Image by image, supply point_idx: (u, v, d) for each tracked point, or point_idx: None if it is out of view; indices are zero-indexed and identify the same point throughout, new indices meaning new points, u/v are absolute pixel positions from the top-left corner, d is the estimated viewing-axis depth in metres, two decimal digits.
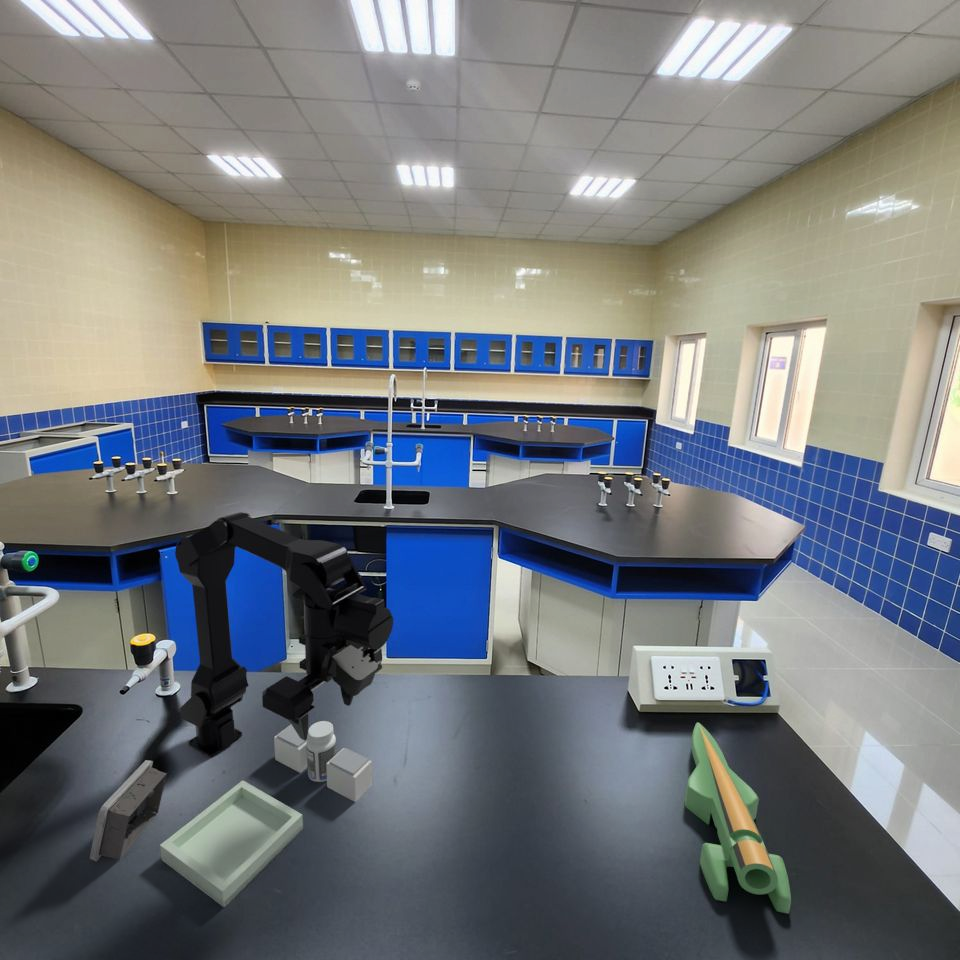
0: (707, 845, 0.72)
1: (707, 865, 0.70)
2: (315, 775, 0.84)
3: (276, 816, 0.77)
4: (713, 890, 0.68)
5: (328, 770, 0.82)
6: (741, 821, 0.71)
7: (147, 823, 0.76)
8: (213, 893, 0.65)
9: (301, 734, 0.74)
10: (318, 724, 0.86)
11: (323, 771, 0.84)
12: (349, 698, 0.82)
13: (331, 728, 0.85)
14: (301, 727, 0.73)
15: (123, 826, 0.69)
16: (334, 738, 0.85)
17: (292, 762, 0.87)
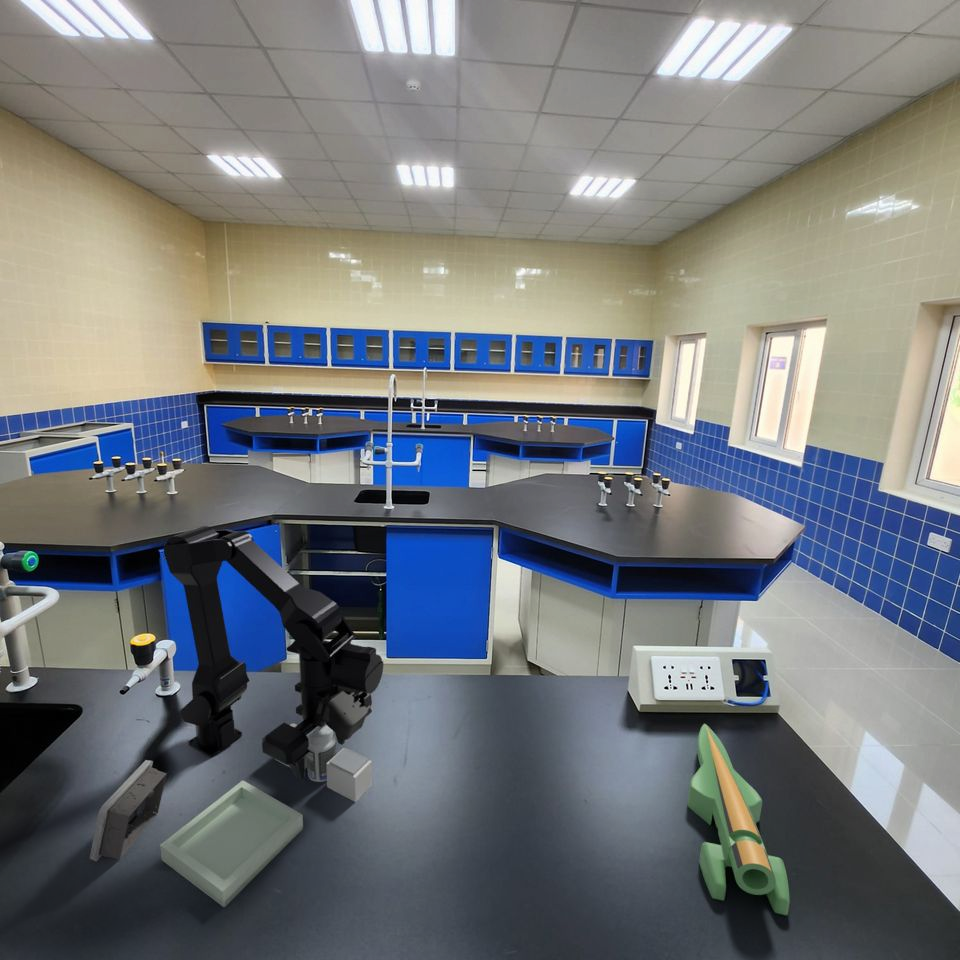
0: (706, 844, 0.72)
1: (706, 864, 0.70)
2: (315, 775, 0.84)
3: (276, 816, 0.77)
4: (710, 888, 0.68)
5: (328, 770, 0.82)
6: (741, 822, 0.71)
7: (147, 823, 0.76)
8: (213, 893, 0.65)
9: (298, 775, 0.81)
10: None
11: (323, 771, 0.84)
12: None
13: None
14: (298, 769, 0.80)
15: (123, 826, 0.69)
16: (334, 738, 0.85)
17: None
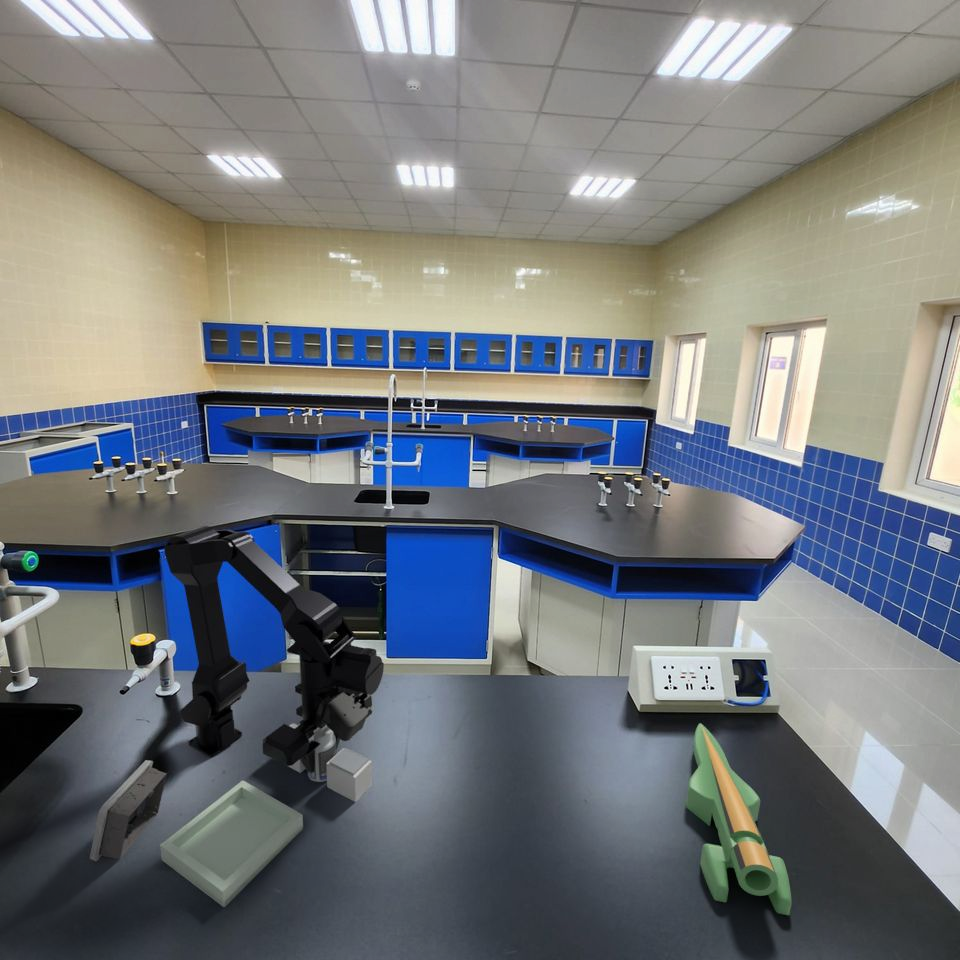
0: (707, 846, 0.71)
1: (708, 866, 0.70)
2: (315, 775, 0.84)
3: (276, 816, 0.77)
4: (713, 890, 0.68)
5: (328, 770, 0.82)
6: (742, 822, 0.71)
7: (147, 823, 0.76)
8: (213, 893, 0.65)
9: (308, 768, 0.83)
10: None
11: (323, 771, 0.84)
12: None
13: None
14: (308, 761, 0.82)
15: (123, 826, 0.69)
16: (334, 738, 0.85)
17: None
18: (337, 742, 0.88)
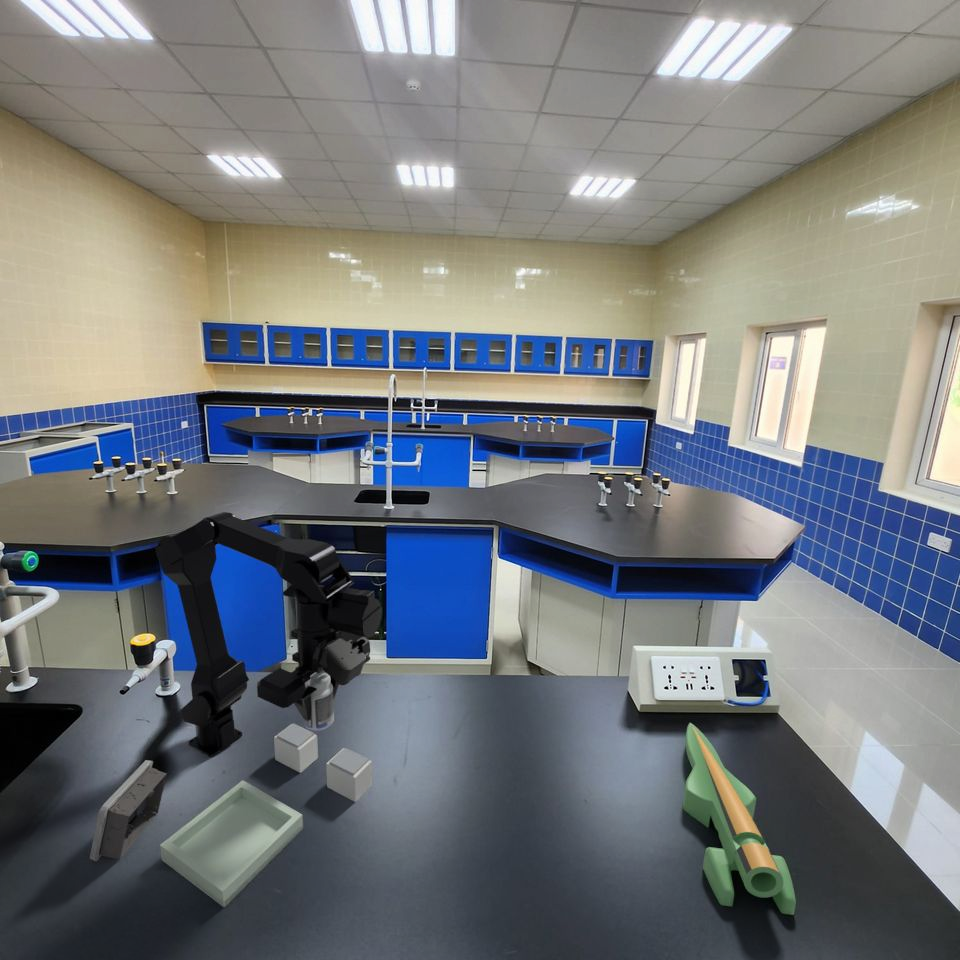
0: (710, 849, 0.71)
1: (712, 870, 0.69)
2: (312, 723, 0.82)
3: (276, 816, 0.77)
4: (718, 895, 0.67)
5: (328, 770, 0.82)
6: (743, 823, 0.71)
7: (147, 823, 0.76)
8: (213, 893, 0.65)
9: (304, 715, 0.81)
10: None
11: (319, 720, 0.82)
12: None
13: (328, 676, 0.83)
14: (304, 708, 0.80)
15: (123, 826, 0.69)
16: (331, 686, 0.83)
17: (292, 762, 0.87)
18: (334, 692, 0.85)
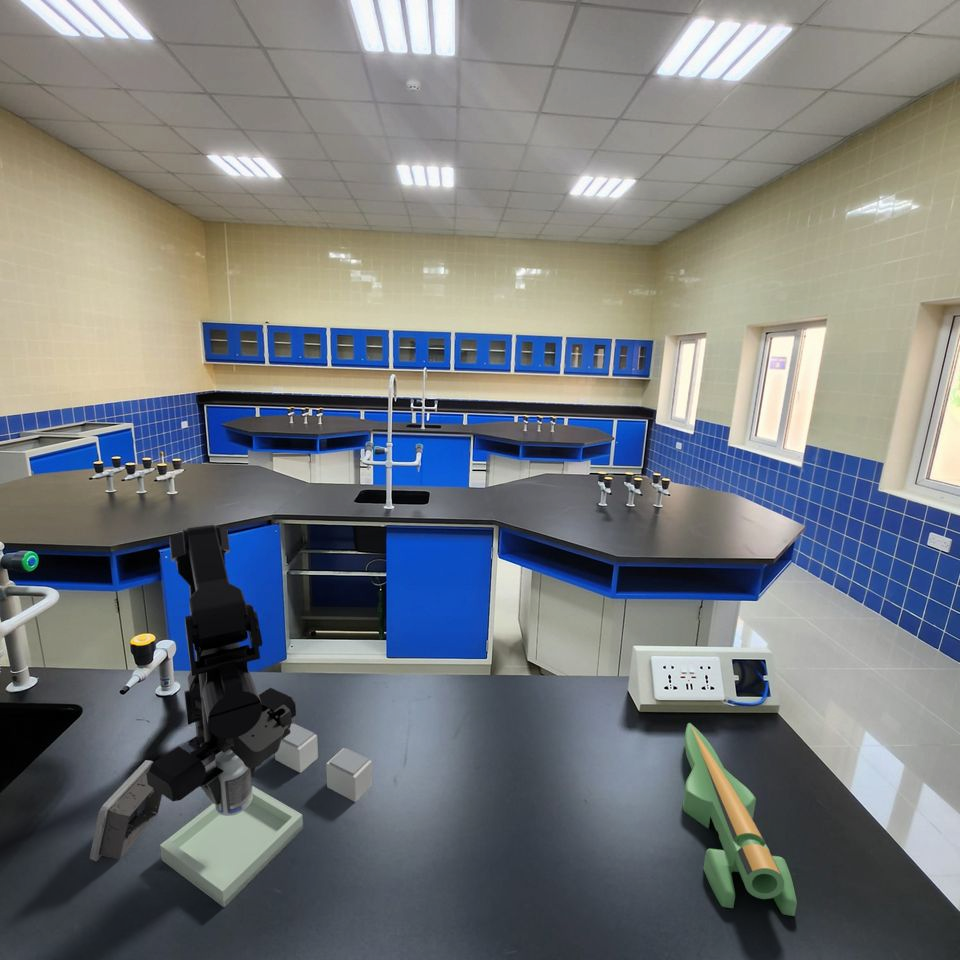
0: (711, 851, 0.71)
1: (713, 872, 0.69)
2: (222, 808, 0.69)
3: (276, 816, 0.77)
4: (719, 897, 0.67)
5: (328, 770, 0.82)
6: (744, 824, 0.71)
7: (147, 823, 0.76)
8: (213, 893, 0.65)
9: (212, 799, 0.68)
10: None
11: (232, 803, 0.69)
12: None
13: None
14: (211, 792, 0.67)
15: (123, 826, 0.69)
16: None
17: (292, 762, 0.87)
18: None
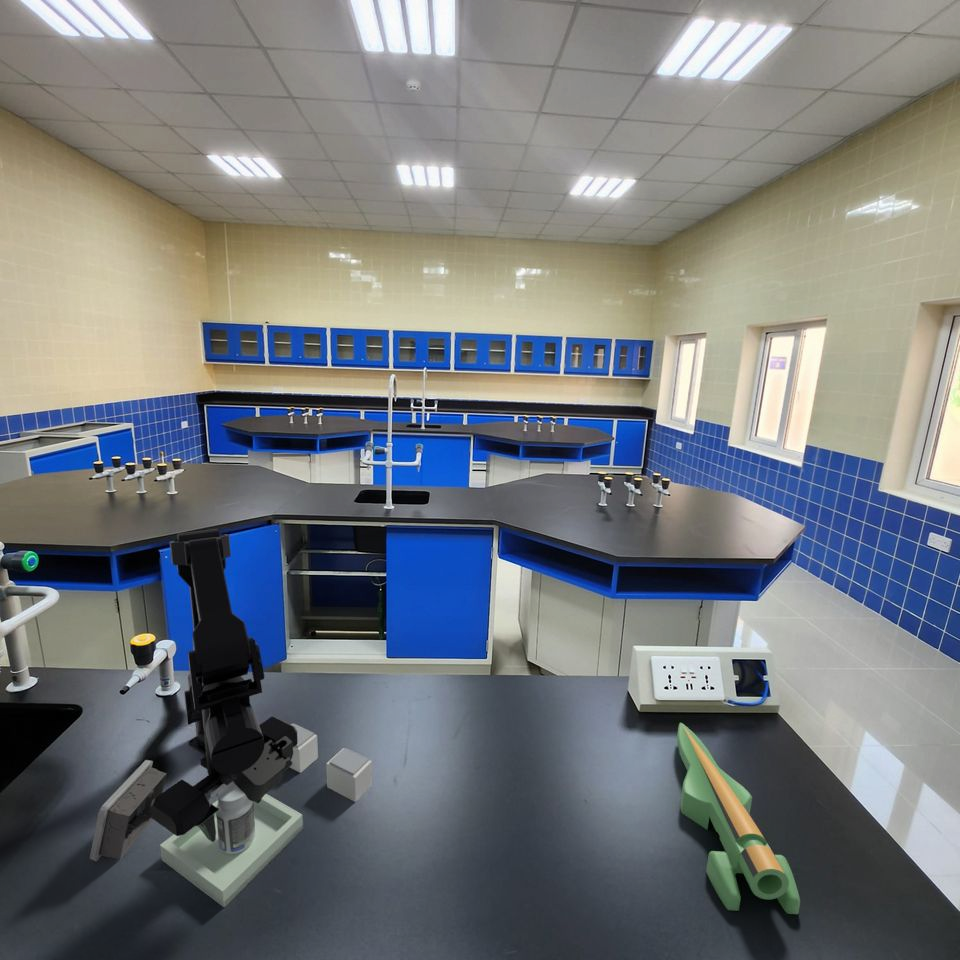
0: (714, 853, 0.70)
1: (717, 875, 0.68)
2: (225, 846, 0.70)
3: (276, 816, 0.77)
4: (725, 900, 0.67)
5: (328, 770, 0.82)
6: (745, 825, 0.71)
7: (147, 823, 0.76)
8: (213, 893, 0.65)
9: (208, 836, 0.68)
10: (232, 784, 0.72)
11: (235, 842, 0.70)
12: None
13: None
14: (206, 830, 0.67)
15: (123, 826, 0.69)
16: (250, 801, 0.72)
17: (292, 762, 0.87)
18: None
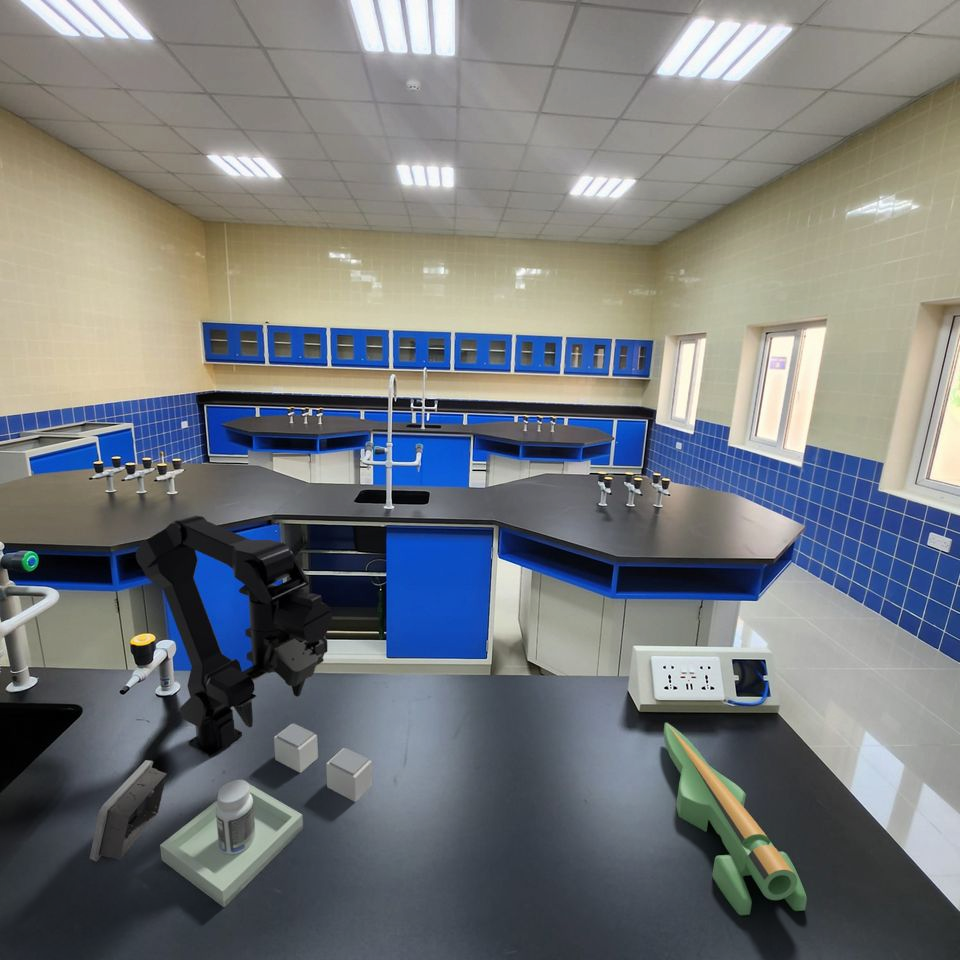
0: (720, 858, 0.70)
1: (726, 880, 0.68)
2: (225, 847, 0.70)
3: (276, 816, 0.77)
4: (736, 905, 0.66)
5: (328, 770, 0.82)
6: (748, 826, 0.71)
7: (147, 823, 0.76)
8: (213, 893, 0.65)
9: (246, 722, 0.79)
10: (231, 784, 0.72)
11: (235, 842, 0.70)
12: (298, 689, 0.87)
13: (246, 790, 0.71)
14: (245, 715, 0.78)
15: (123, 826, 0.69)
16: (250, 801, 0.72)
17: (292, 762, 0.87)
18: (301, 685, 0.87)
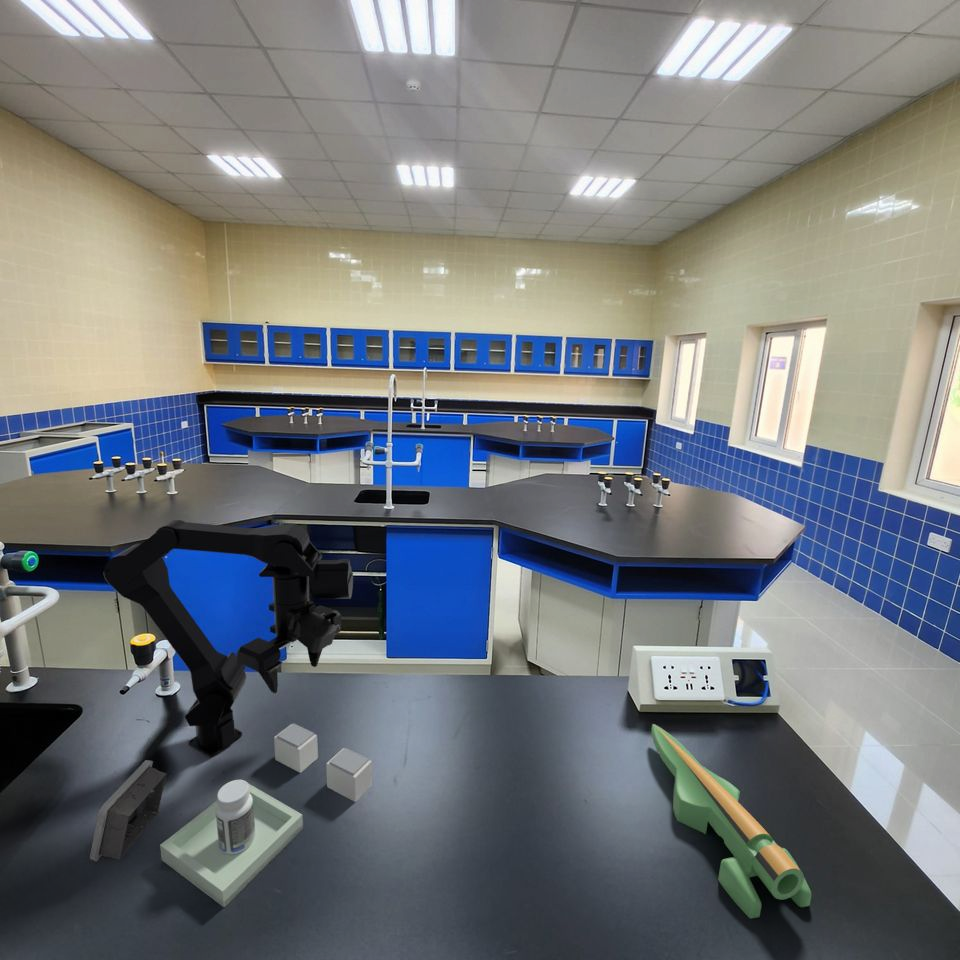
0: (727, 862, 0.69)
1: (735, 884, 0.67)
2: (225, 847, 0.70)
3: (276, 816, 0.77)
4: (746, 909, 0.66)
5: (328, 770, 0.82)
6: (751, 826, 0.71)
7: (147, 823, 0.76)
8: (213, 893, 0.65)
9: (271, 688, 0.87)
10: (231, 784, 0.72)
11: (235, 842, 0.70)
12: (315, 660, 0.95)
13: (246, 790, 0.71)
14: (271, 681, 0.86)
15: (123, 826, 0.69)
16: (250, 801, 0.72)
17: (292, 762, 0.87)
18: (318, 656, 0.95)
